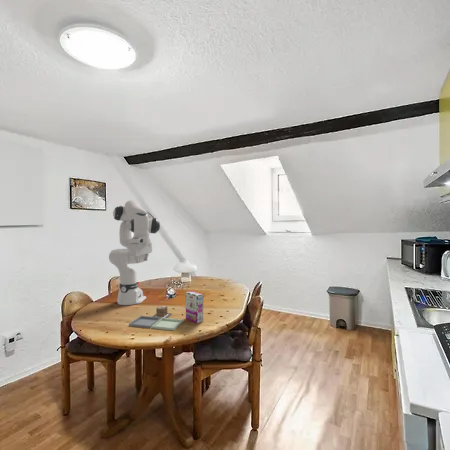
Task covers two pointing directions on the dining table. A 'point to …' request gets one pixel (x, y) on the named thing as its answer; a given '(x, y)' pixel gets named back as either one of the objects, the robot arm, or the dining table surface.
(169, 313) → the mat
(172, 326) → the tray
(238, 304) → the dining table surface
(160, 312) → the letter cube
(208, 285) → the dining table surface
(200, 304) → the candy bar box
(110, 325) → the dining table surface
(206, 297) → the dining table surface
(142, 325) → the tray
